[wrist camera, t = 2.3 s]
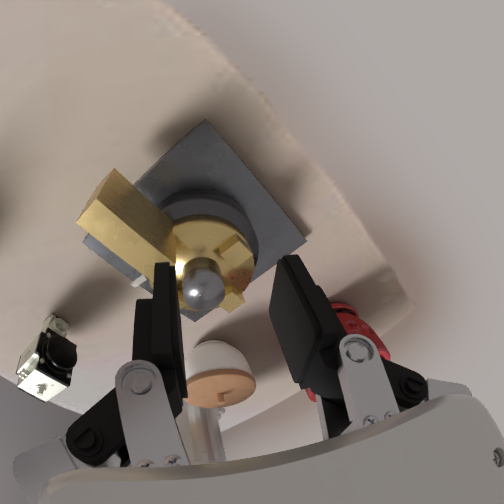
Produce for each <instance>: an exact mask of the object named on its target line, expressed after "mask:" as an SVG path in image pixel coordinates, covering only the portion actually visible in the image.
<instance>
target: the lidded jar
mask: <svg viewBox="0 0 504 504" xmlns="http://www.w3.org/2000/svg"><path fill="white" fill-rule="evenodd" d="M184 363H185V373H186V382H187V391H188V398H184V400H185V401H186V402H188V403H189V404H191V405H194V406H197V407H202V408H221V407H227V406H231V405H234V404H237V403H240V402H242V401H244V400H246V399H247V398H249V397H250V396H251V395H252V394H253V393H254V391H255V389H256V383H255V380H254V378H253V375H252V372H251V369H250V366H249V364H248V362H247V360H246V359H245V357H244V356H243V354H242V353H241V352H240V351H239V350H237V349H236V348H235V347H233V346H231V345H229V344H228V343H226V342H224V341H220V340H209V341H205V342H202V343H200V344H198V345H197V346H196V347H195V348H194V350H192V351H191V352H190V353H189V355H188V356H187V358H186V359H185V362H184Z"/></svg>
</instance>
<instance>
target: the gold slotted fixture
mask: <svg viewBox="0 0 504 504" xmlns="http://www.w3.org/2000/svg"><path fill="white" fill-rule="evenodd" d="M76 223H78V224H79V225H80V226H81V227H82V228H84V229H85V230H86V231H87V232H88V233H90V234H91V235H92V236H93V237H95V238H96V239H97V240H98V241H100V242H101V243H102V244H103V245H105V246H106V247H107V248H109V249H110V250H111V251H112V252H114V253H115V254H116V255H118V256H119V257H120V258H121V259H123V260H124V261H125V262H127V263H128V264H129V265H131V266H132V267H133V268H135V269H136V270H137V271H139V272H140V273H142V274H143V275H144V276H146V277H147V278H148V280H149V283H150V285H151V287H152V289H153V283H154V266H155V263H158V262H170V266H175V267H176V278H177V289H178V298H179V308H180V309H185V310H192V311H202V310H210V309H214V308H218V307H222V308H223V309H225V310H226V311H227V312H229V313H230V312H231V311H233V310H234V309H236V308H237V307H238V306H240V305H241V304H243V303H244V302H245V301H244V297H243V294H242V292H243V291H244V290H245V289H246V288H247V286H248V285H249V283H250V281H251V279H252V276H253V273H254V258H253V253H252V250H251V248H250V246H249V244H248V242H247V239H246V237H245V236H244V234H243V233H242V231H241V230H240V229H239V228H238V227H237V226H236V225H235V224H233V223H231V222H230V221H228V220H226V219H224V218H221V217H218V216H214V215H208V214H194V215H189V216H185V217H181V218H179V219H177V220H174V221H172V220H171V219H170V218H169V217H167V216H166V215H165V214H164V213H163V212H162V211H161V210H160V209H159V208H157V207H156V206H155V205H154V204H153V203H152V202H151V201H150V200H149V199H147V198H146V197H145V196H144V195H143V194H142V193H141V192H140V191H139V190H138V189H136V188H135V187H134V186H133V185H132V184H131V183H130V182H129V181H128V180H127V179H126V178H125V177H123V176H122V175H121V174H120V173H119V172H118V171H117V170H116V169H115V168H114V169H113V170H112V171H111V172H110V173H109V174H108V175H107V176H106V177H105V178H104V180H103V181H102V182H101V183H100V184H99V185H98V186H97V188H96V189H95V191H94V192H93V194H92V196H91V197H90V199H89V201H88V203H87V204H86V206H85V208H84V209H83V211H82V213H81V215H80V217H79V218H78V220H77V222H76Z"/></svg>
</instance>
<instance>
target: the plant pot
mask: <svg viewBox="0 0 504 504" xmlns="http://www.w3.org/2000/svg"><path fill="white" fill-rule="evenodd" d="M331 306H332V307H333V309H334V311H335V313H336V315H337V316H338V318H339V320H340V322H341V323H342V325H343V327H344V329H345V331H346V332H347V334H348V335H350V334H360V335H363V336H365V337H367V338H369V339H370V340H371V341H372V342H373V343H374V344H375V346H376V348H377V350H378V352H379V355H380V357H382V358H384V359H386V360H389V361H390V353H389V352H388V350H387V348H386V347H385V345H384V344H383V342H382V341H381V340H380V338H379V337H378V336H377V334H376V333H375V332H374V331H373V329H372V328H371V327H370V326H369V325H367V324H366V323H365V322H364V321H362V320H361V319H359V318H358V313H357V312H356V310H355V309H354V308H353V307H351V306H349V305H347V304H343V303H332V304H331ZM306 392H307V394H308V396H309V398H310V399H311V400H312V401H313V402H316V397H315V393H313V392H311V389H310V388H306ZM316 403H317V402H316Z"/></svg>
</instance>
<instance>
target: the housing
mask: <svg viewBox="0 0 504 504" xmlns="http://www.w3.org/2000/svg"><path fill="white" fill-rule="evenodd" d="M133 186H134V187H135V188H136V189H138V190H139V191H140V192H141V193H142V194H143V195H144V196H145V197H146V198H147V199H149V200H150V201H151V202H152V203H153V204H154V205H155V206H156V207H157V208H159V209H160V210H161V211H162V212H163V213H164V214H165V215H166V216H167V217H169V218H170V219H171V220H172V221H174V220H177V219H179V218H181V217H185V216H189V215H194V214H208V215H214V216H218V217H221V218H224V219H226V220H228V221H230V222H231V223H233V224H235V225H236V226H237V227H238V228H239V229H240V230H241V231H242V233H243V234H244V236H245V237H246V239H247V242H248V244H249V246H250V248H251V250H252V253H253V258H254V273H253V276H252V279H251V281H250V283H251V282H252V281H254V280H255V279H256V278H258V277H259V276H260V275H262V274H263V273H265V272H266V271H267V270H269V269H270V268H271V267H273V266H274V265H276V264H277V262H278V260H279V259H282V257H283V256H284V255H289V254H291V253H292V252H293V251H295V250H296V249H297V248H299V247H300V246H301V245H303V244H304V243H306V242H307V240H306V239H305V237H304V236H303V235H302V234H301V232H300V231H299V230H298V228H297V227H296V226H295V225H294V223H293V222H292V221H291V220H290V218H289V217H288V216H287V215H286V213H285V212H284V211H283V210H282V208H281V207H280V206H279V205H278V204H277V202H276V201H275V200H274V199H273V197H272V196H271V195H270V194H269V193H268V191H267V190H266V189H265V188H264V187H263V185H262V184H261V183H260V182H259V181H258V179H257V178H256V177H255V176H254V175H253V173H252V172H251V171H250V170H249V169H248V167H247V166H246V165H245V164H244V163H243V162H242V160H241V159H240V158H239V157H238V156H237V155H236V153H235V152H234V151H233V150H232V149H231V148H230V146H229V145H228V144H227V143H226V142H225V141H224V140H223V138H222V137H221V136H220V135H219V134H218V133H217V132H216V131H215V129H214V128H213V127H212V126H211V125H210V124H209V123H208V122H207V120H206V119H205V120H204V121H203V122H201V123H200V124H199V125H198V126H197V127H195V128H194V129H193V130H192V131H191V132H190V133H188V134H187V135H186V136H185V137H184V138H183V139H182V140H180V141H179V142H178V143H177V144H176V145H175V146H174V147H173V148H171V149H170V150H169V151H168V152H167V153H166V154H165V155H164V156H163V157H162V158H160V159H159V160H158V161H157V162H156V163H155V164H154V165H153V166H152V167H151V168H150V169H149V170H148V171H147V172H146V173H145V174H144V175H143V176H142V177H141V178H140V179H139V180H138V181H137V182H136V183H135V184H134V185H133ZM83 243H84V244H85V245H86V246H87V247H89V248H90V249H91V250H93V251H94V252H95V253H96V254H98V255H99V256H100V257H102V258H103V259H104V260H106V261H107V262H108V263H110V264H111V265H112V266H114V267H115V268H116V269H118V270H119V271H120V272H122V273H123V274H124V275H126V276H127V277H129V278H130V279H131V280H133V281H131V282H130V284H131V285H132V286H133V287H134V288H135V287H137V286H138V285H140V286H141V287H143V288H144V289H146V290H147V291H148V292H150V293H151V294H153V289H152V287H151V285H150V283H149V280H148V278H147V277H146V276H144V275H143V274H142V273H140V272H139V271H137V270H136V269H135V268H133V267H132V266H131V265H129V264H128V263H127V262H125V261H124V260H123V259H121V258H120V257H119V256H118V255H116V254H115V253H114V252H112V251H111V250H110V249H109V248H107V247H106V246H105V245H103V244H102V243H101V242H100V241H98V240H97V239H96V238H95V237H93V236H92V235H91V234H90V233H89V234H88V235H87V236H86V237H85V239H84V241H83ZM211 310H213V309H210V310H202V311H192V310H185V309H180V313H181V314H183V315H184V316H186V317H188V318H189V319H191V320H192V321H194V322H196V321H197V320H199V319H200V318H201V317H203V316H204V315H206V314H207V313H209V312H210V311H211Z"/></svg>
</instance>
